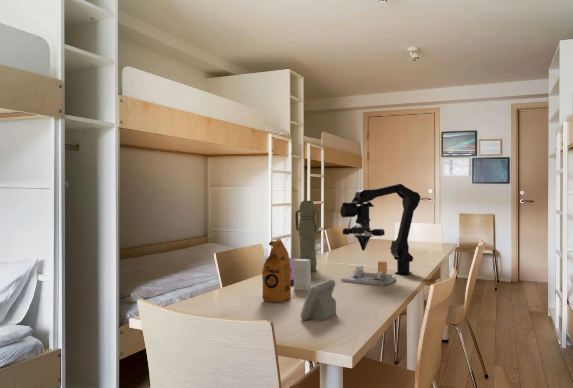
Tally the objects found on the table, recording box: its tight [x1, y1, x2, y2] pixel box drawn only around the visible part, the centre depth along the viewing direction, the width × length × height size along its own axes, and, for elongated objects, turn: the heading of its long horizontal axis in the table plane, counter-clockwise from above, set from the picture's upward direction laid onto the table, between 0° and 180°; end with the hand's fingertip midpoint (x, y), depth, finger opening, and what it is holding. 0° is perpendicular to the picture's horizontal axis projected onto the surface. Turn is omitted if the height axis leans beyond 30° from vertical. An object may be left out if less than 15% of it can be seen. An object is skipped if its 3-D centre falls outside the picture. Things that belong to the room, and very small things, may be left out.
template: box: [340, 265, 397, 287], centre depth 197 cm, size 14×20×5 cm
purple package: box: [289, 257, 303, 285], centre depth 198 cm, size 10×8×18 cm
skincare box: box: [293, 259, 312, 292], centre depth 182 cm, size 6×4×12 cm
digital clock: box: [300, 278, 337, 321], centre depth 143 cm, size 16×9×11 cm, turn 138°
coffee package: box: [261, 238, 292, 304], centre depth 166 cm, size 10×12×22 cm
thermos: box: [294, 200, 320, 272], centre depth 226 cm, size 9×12×35 cm
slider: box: [376, 260, 388, 279], centre depth 197 cm, size 7×3×7 cm, turn 148°
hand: (363, 250), depth 208 cm, fingers closed
